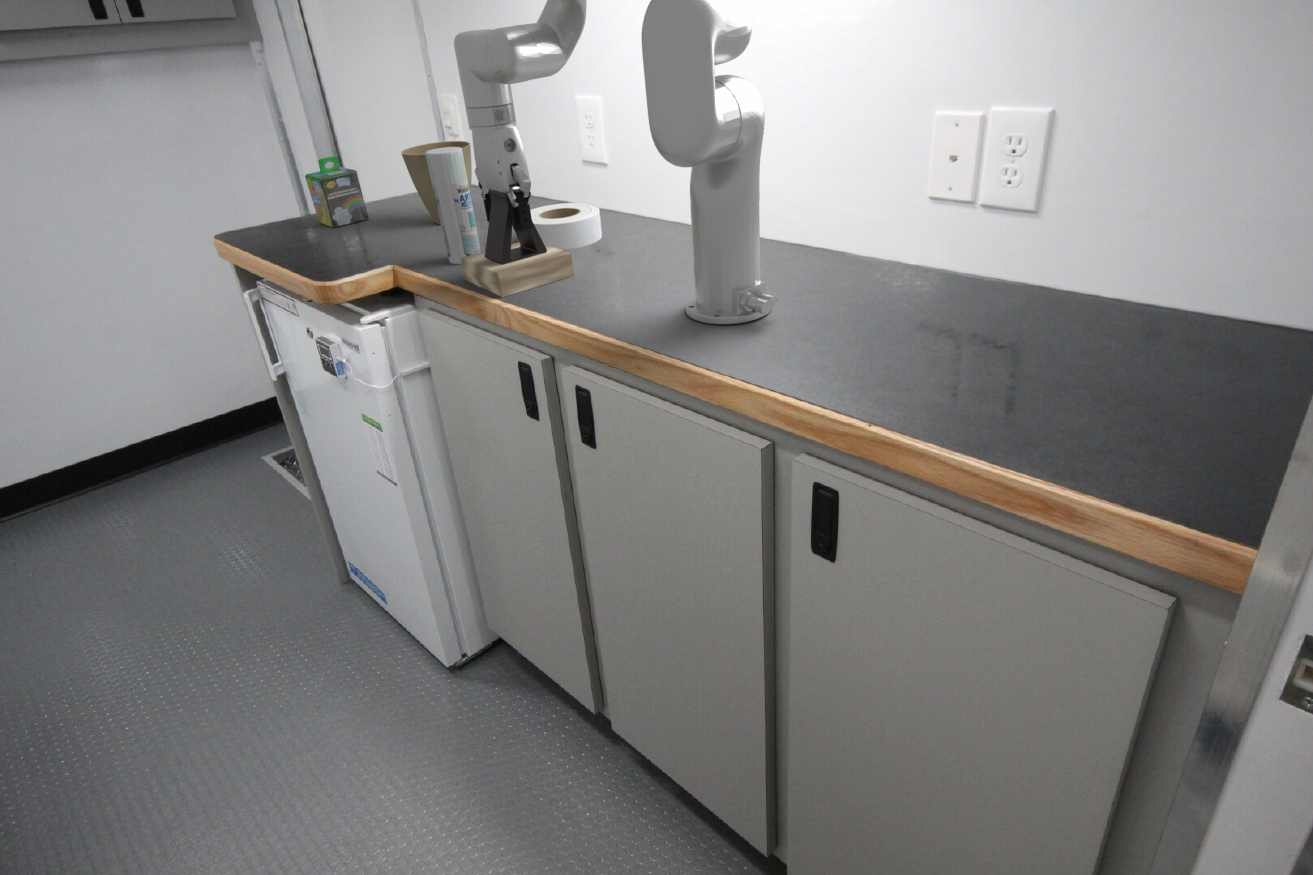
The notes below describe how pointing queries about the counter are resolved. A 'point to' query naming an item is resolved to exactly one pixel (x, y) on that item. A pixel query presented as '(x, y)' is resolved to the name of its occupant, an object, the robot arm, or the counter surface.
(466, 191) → the spray can
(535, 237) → the black triangular stand
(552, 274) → the birch base
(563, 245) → the roll of tape
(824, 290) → the counter surface
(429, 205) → the plant pot
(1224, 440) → the counter surface
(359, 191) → the chalk box
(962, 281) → the counter surface
